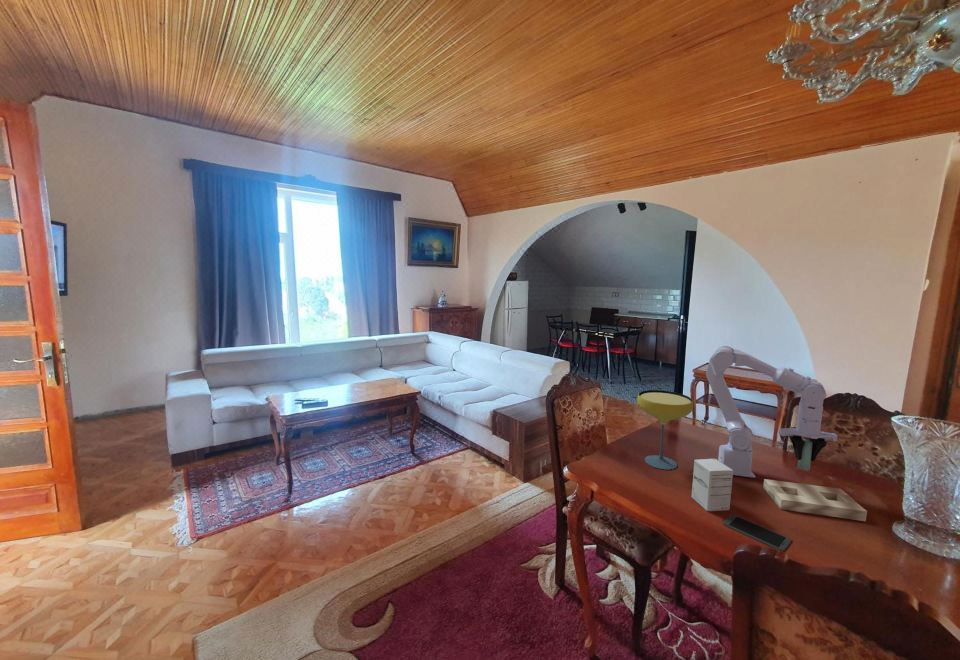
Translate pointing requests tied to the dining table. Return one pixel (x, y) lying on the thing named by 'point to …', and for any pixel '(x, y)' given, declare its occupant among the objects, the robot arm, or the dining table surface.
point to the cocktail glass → (664, 417)
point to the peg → (806, 455)
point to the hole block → (814, 500)
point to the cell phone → (757, 532)
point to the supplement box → (712, 484)
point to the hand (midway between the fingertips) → (804, 459)
